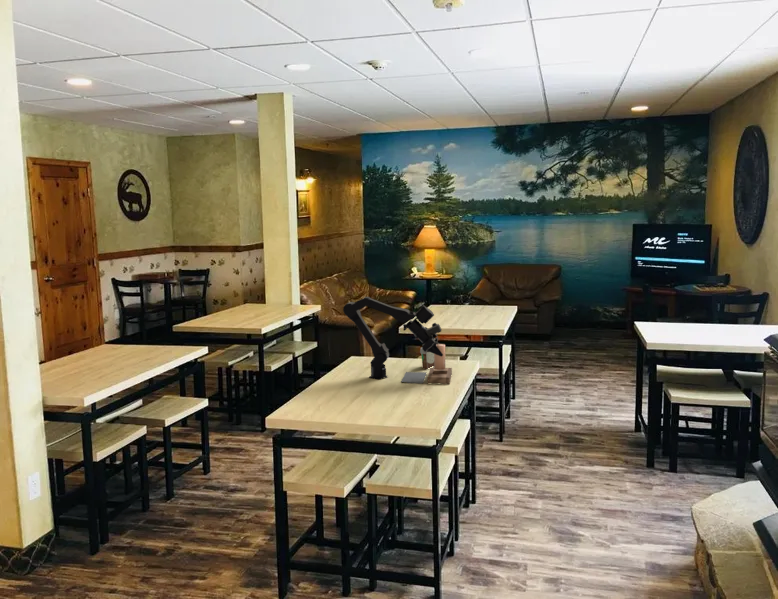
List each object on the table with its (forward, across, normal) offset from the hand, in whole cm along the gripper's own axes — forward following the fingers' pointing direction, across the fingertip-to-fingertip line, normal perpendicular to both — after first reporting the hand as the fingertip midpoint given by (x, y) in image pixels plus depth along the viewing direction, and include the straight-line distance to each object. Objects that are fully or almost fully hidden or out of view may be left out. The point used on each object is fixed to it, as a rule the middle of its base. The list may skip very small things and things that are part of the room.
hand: (442, 354), depth 305 cm
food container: (+2, +22, +15) cm, 27 cm away
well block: (+7, 0, +9) cm, 12 cm away
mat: (-1, 0, +18) cm, 18 cm away
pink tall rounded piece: (+4, 0, +6) cm, 7 cm away
